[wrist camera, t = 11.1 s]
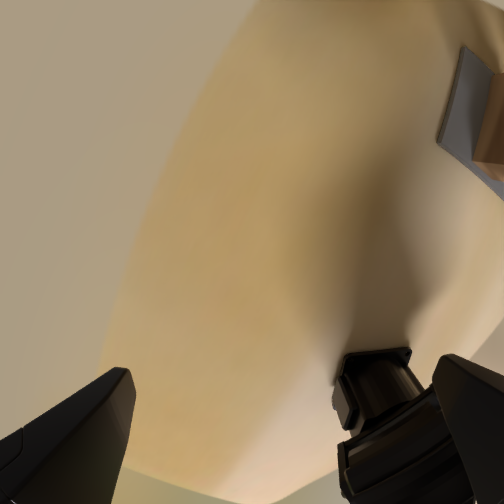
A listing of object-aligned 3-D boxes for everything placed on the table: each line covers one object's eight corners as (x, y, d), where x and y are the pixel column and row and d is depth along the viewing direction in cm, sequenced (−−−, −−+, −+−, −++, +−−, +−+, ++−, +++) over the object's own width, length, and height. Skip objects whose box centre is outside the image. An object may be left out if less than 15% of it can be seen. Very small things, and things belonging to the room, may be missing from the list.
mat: (525, 114, 16) (529, 114, 16) (505, 202, 19) (509, 203, 18) (461, 47, 15) (465, 46, 14) (436, 143, 18) (441, 143, 17)
